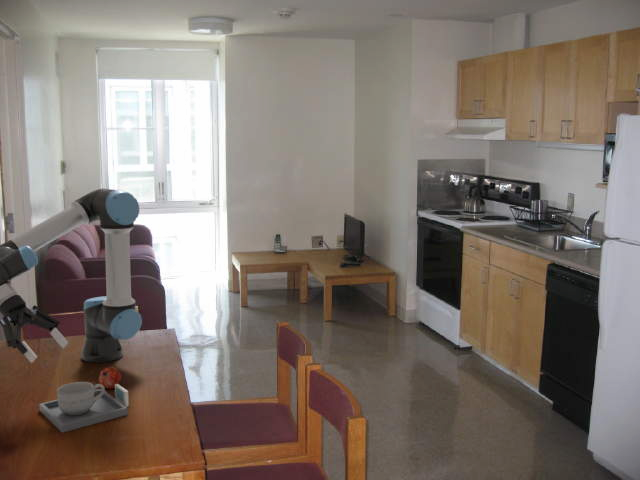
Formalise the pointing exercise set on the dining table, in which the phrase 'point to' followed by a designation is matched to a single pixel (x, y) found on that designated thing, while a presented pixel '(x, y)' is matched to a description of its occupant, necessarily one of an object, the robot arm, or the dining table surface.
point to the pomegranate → (109, 377)
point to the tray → (97, 413)
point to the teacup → (77, 397)
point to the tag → (121, 395)
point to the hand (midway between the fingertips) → (50, 352)
